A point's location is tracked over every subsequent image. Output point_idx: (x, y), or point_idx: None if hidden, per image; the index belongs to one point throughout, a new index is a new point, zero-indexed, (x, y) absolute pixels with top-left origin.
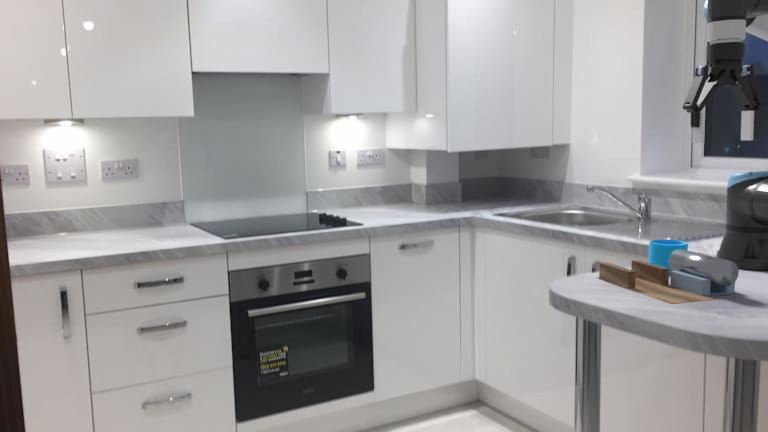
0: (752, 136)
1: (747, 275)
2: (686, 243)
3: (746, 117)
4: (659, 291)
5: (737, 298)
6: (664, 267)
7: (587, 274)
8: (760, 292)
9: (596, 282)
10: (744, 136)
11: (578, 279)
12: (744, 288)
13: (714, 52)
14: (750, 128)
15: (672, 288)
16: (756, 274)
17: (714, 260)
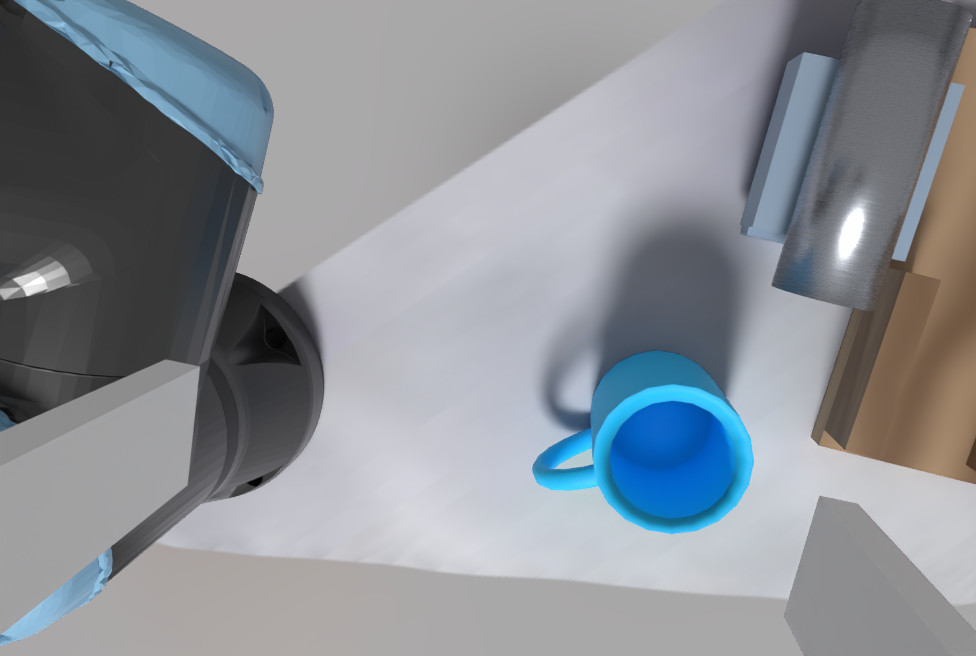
0: (153, 371)
1: (388, 273)
2: (633, 400)
3: (22, 536)
4: None
5: (755, 69)
6: (904, 294)
7: None
8: (602, 83)
9: (945, 499)
10: (170, 455)
11: (957, 566)
12: (591, 151)
13: None
14: (126, 409)
15: (923, 218)
16: (346, 266)
17: (941, 64)
